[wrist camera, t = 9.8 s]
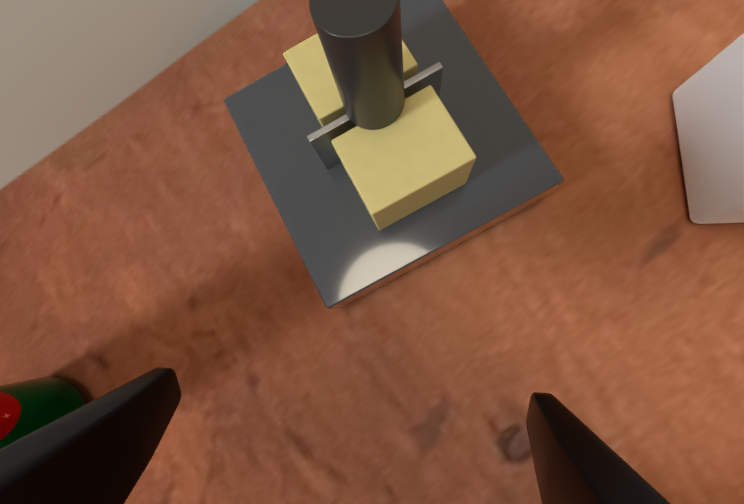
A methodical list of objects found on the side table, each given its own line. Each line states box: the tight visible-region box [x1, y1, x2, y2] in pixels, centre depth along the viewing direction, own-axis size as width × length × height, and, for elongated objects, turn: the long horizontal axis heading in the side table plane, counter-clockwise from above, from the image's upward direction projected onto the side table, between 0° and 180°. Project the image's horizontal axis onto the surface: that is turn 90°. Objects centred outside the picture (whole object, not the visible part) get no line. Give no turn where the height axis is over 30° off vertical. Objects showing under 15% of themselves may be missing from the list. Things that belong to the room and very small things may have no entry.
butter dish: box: [224, 0, 564, 309], centre depth 19 cm, size 12×12×3 cm
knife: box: [307, 0, 443, 169], centre depth 13 cm, size 2×6×8 cm, turn 118°
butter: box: [283, 33, 476, 230], centre depth 16 cm, size 8×4×3 cm, turn 28°
